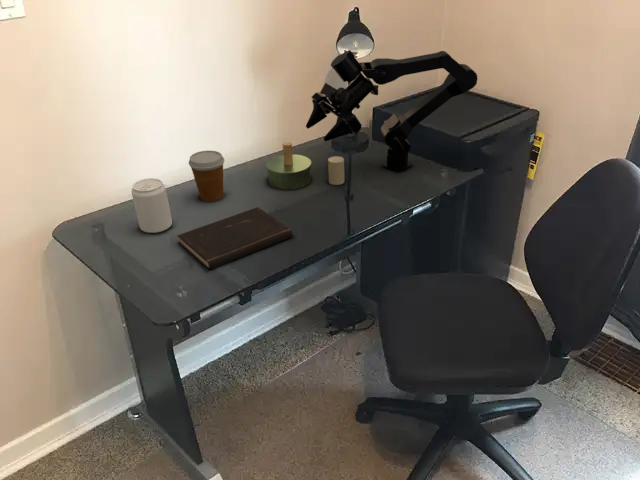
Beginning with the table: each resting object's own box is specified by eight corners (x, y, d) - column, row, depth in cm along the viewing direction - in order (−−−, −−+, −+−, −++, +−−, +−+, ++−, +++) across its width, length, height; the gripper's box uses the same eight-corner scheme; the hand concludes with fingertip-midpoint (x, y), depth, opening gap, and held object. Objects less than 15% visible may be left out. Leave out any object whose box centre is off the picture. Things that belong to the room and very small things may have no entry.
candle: (336, 176, 182) (335, 154, 178) (347, 181, 179) (347, 159, 176) (325, 181, 179) (324, 159, 175) (337, 186, 177) (336, 164, 173)
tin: (290, 168, 187) (289, 153, 184) (319, 179, 180) (318, 163, 178) (260, 181, 179) (258, 165, 177) (288, 193, 173) (287, 177, 170)
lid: (289, 153, 185) (288, 131, 181) (320, 165, 178) (319, 142, 174) (256, 167, 177) (254, 144, 173) (287, 180, 170) (286, 156, 166)
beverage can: (178, 222, 159) (170, 180, 153) (160, 236, 153) (151, 193, 146) (152, 217, 161) (143, 175, 155) (133, 231, 155) (123, 189, 148)
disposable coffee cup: (187, 200, 169) (180, 160, 163) (207, 186, 177) (201, 147, 170) (216, 206, 166) (210, 166, 160) (235, 192, 174) (230, 152, 167)
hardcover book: (178, 243, 150) (177, 235, 149) (258, 214, 163) (257, 206, 161) (210, 270, 140) (208, 262, 139) (292, 238, 152) (292, 230, 151)
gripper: (322, 63, 172) (283, 102, 171) (361, 86, 160) (319, 128, 159) (339, 90, 180) (303, 128, 180) (378, 113, 169) (339, 153, 168)
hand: (315, 133), depth 171 cm, fingers open, 9 cm apart
